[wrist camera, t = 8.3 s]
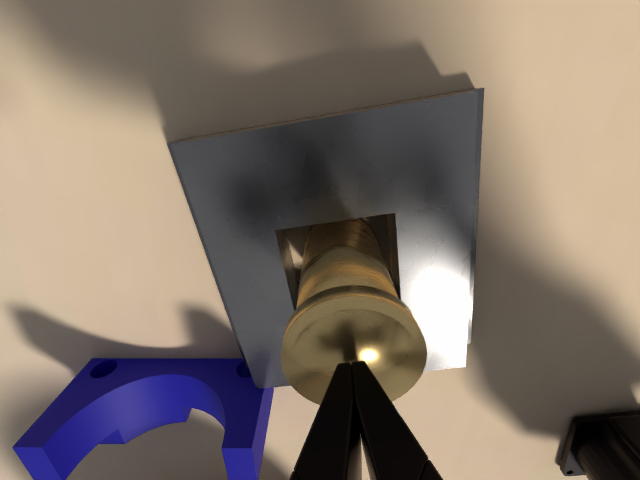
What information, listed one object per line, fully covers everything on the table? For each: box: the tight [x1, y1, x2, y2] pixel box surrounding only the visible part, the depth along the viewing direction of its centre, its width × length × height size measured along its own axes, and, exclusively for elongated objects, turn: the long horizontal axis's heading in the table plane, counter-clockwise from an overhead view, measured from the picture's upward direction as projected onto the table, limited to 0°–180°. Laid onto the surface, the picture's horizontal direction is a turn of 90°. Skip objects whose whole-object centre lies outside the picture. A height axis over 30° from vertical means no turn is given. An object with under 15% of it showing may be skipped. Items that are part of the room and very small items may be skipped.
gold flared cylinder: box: [281, 218, 427, 405], centre depth 13 cm, size 5×5×8 cm
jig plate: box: [167, 88, 484, 389], centre depth 16 cm, size 14×14×2 cm
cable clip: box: [12, 358, 274, 480], centre depth 19 cm, size 12×4×6 cm, turn 91°
